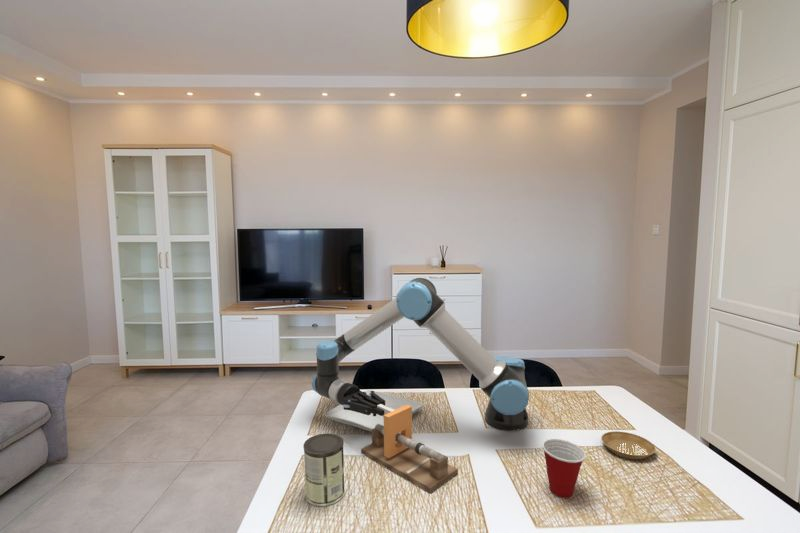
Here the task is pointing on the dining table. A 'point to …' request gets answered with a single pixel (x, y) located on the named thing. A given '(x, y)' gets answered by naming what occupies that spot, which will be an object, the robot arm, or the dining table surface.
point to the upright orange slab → (397, 429)
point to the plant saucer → (627, 444)
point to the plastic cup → (562, 465)
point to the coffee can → (324, 469)
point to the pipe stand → (411, 461)
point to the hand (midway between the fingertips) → (393, 415)
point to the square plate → (369, 420)
